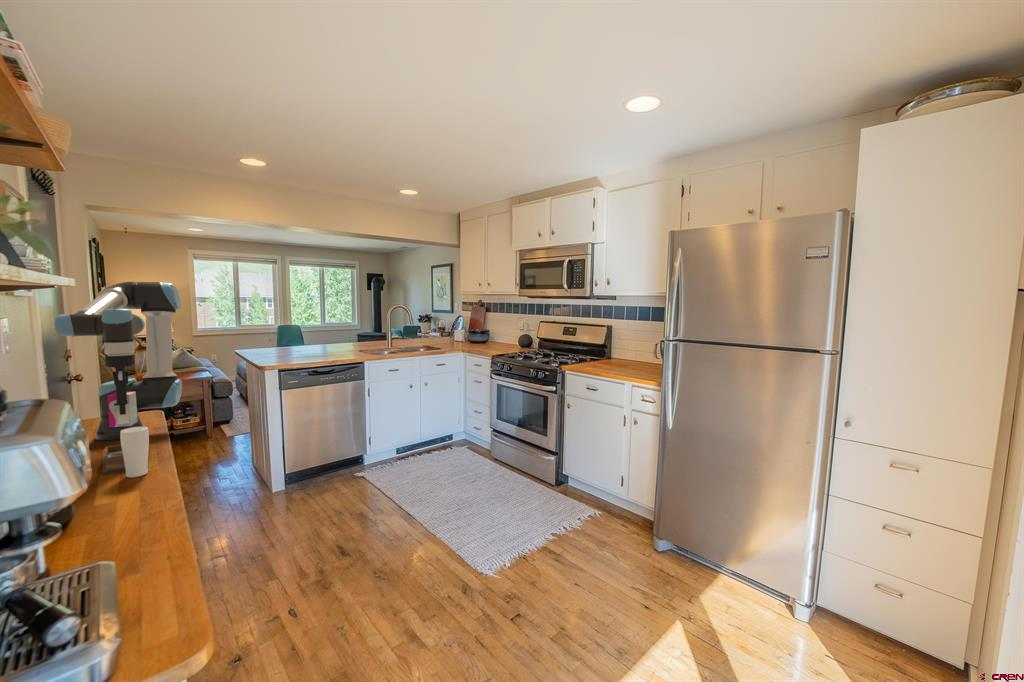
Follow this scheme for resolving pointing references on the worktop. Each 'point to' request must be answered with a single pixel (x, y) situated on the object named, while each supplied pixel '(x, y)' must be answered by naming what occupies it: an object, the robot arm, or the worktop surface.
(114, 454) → the crate
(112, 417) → the supplement box
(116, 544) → the worktop surface
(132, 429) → the white cup
